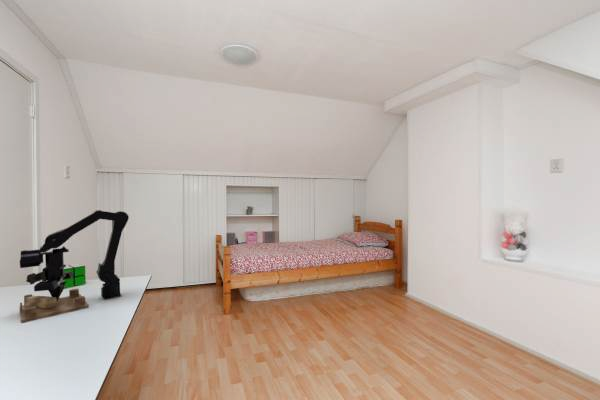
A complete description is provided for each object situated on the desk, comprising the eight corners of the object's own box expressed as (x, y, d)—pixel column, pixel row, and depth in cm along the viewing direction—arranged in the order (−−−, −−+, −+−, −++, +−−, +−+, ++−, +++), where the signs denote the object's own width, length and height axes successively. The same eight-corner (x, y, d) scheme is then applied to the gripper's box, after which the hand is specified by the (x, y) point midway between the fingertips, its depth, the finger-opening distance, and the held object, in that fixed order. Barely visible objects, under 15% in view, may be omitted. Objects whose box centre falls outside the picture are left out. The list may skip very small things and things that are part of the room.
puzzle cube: (79, 281, 158) (78, 263, 158) (85, 284, 152) (85, 265, 152) (55, 285, 150) (55, 266, 150) (62, 289, 144) (61, 269, 144)
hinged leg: (21, 306, 117) (21, 296, 117) (30, 303, 120) (29, 294, 120) (48, 308, 114) (48, 298, 114) (56, 305, 117) (56, 295, 117)
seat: (80, 296, 132) (80, 287, 132) (88, 307, 118) (88, 297, 118) (19, 308, 118) (19, 298, 118) (21, 323, 104) (21, 311, 104)
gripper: (43, 260, 125) (44, 296, 126) (16, 271, 108) (17, 312, 108) (73, 258, 129) (74, 293, 129) (52, 268, 111) (53, 308, 112)
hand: (55, 301), depth 119 cm, fingers closed
